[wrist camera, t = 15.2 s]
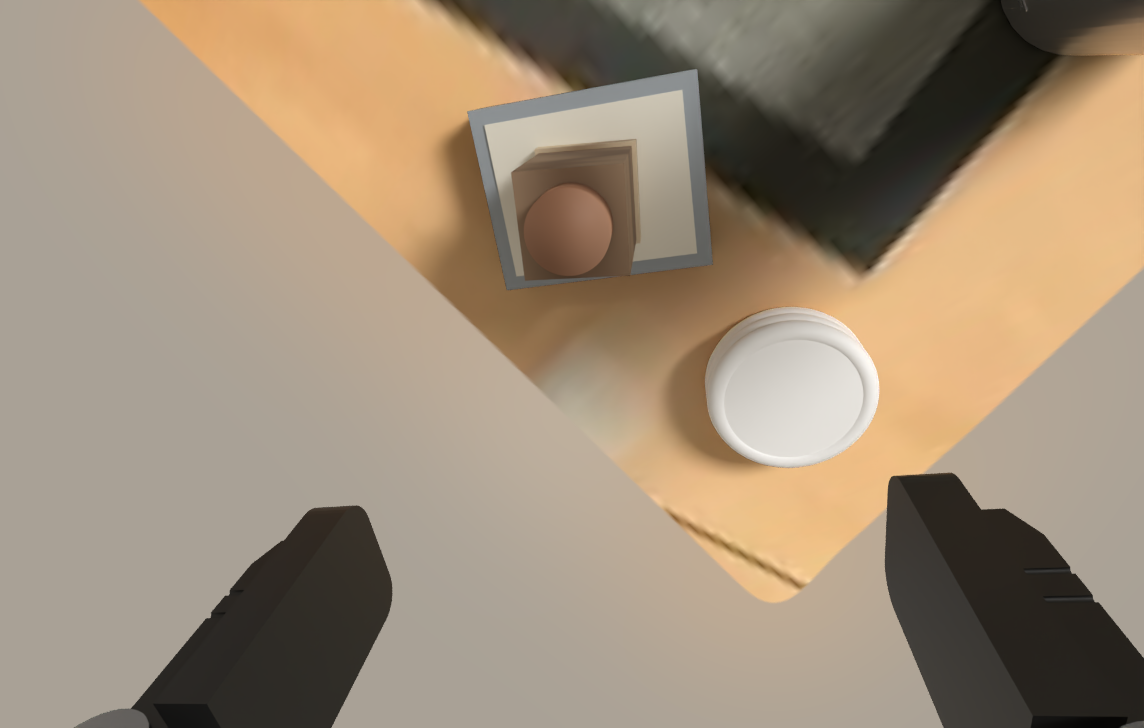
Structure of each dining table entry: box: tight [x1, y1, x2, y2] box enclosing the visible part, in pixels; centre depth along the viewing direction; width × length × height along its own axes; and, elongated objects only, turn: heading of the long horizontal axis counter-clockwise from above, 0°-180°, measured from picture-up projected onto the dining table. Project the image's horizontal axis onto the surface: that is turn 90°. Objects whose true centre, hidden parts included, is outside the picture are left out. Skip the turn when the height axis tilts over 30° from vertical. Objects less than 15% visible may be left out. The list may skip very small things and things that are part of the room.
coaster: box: [705, 307, 879, 468], centre depth 39 cm, size 10×10×4 cm
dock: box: [468, 69, 713, 290], centre depth 35 cm, size 12×10×3 cm
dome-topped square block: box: [511, 139, 641, 281], centre depth 30 cm, size 5×5×9 cm
